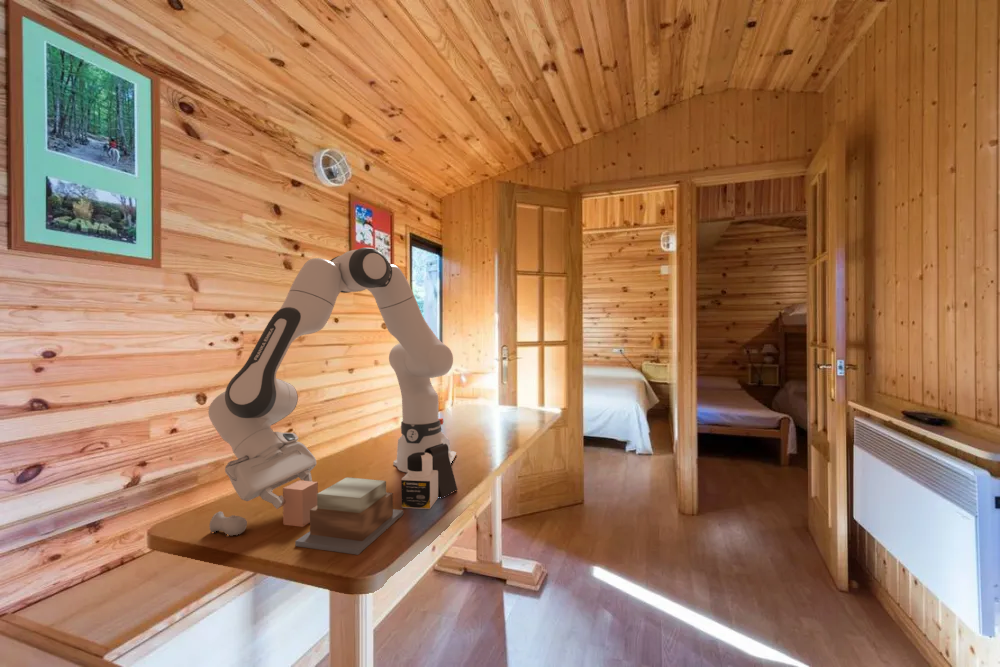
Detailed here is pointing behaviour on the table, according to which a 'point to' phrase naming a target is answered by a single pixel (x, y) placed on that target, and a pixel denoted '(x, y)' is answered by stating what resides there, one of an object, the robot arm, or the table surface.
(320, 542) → the base plate
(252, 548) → the table surface
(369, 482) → the brick tower
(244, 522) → the smooth white sculpture
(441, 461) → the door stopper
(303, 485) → the terracotta brick
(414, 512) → the table surface
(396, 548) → the table surface
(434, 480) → the medicine bottle
